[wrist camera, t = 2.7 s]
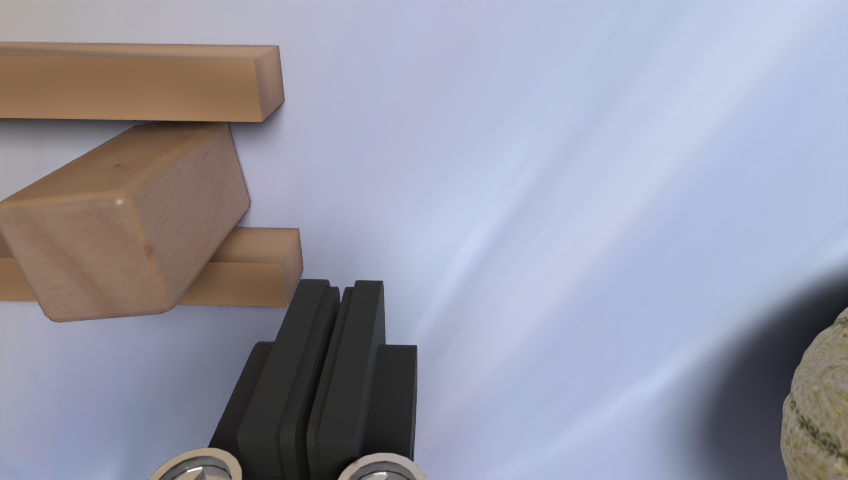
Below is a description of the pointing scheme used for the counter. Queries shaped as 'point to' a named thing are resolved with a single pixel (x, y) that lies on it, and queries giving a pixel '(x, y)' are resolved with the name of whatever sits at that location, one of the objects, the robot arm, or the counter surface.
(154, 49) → the pair of wooden bars
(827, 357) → the cantaloupe
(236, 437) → the robot arm
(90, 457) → the counter surface
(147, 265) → the wooden block
